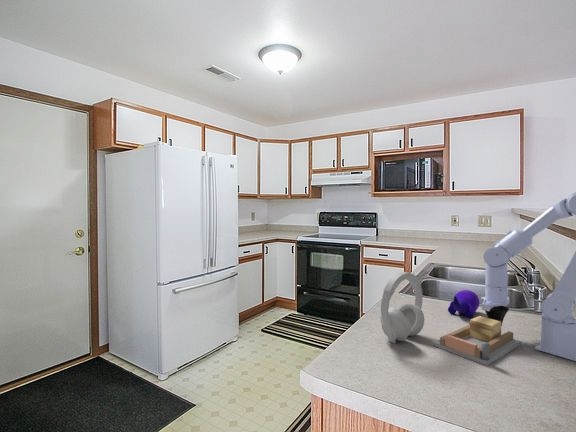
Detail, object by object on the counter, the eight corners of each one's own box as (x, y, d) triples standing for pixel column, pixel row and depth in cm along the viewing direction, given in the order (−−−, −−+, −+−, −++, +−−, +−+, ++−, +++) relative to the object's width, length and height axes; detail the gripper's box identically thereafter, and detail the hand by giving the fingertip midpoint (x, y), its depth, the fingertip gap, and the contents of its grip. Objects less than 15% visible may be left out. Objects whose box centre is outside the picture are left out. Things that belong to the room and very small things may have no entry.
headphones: (395, 351, 87) (396, 279, 87) (371, 341, 94) (372, 274, 93) (431, 334, 99) (432, 270, 98) (407, 326, 105) (408, 266, 105)
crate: (501, 338, 93) (502, 321, 93) (492, 343, 89) (492, 326, 89) (479, 331, 98) (479, 315, 98) (469, 336, 94) (469, 319, 94)
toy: (469, 325, 110) (483, 311, 120) (468, 298, 109) (482, 286, 119) (443, 318, 116) (459, 305, 126) (442, 293, 115) (458, 282, 125)
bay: (520, 344, 91) (520, 327, 91) (487, 365, 79) (487, 345, 79) (469, 329, 103) (469, 314, 102) (433, 345, 90) (433, 328, 90)
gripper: (492, 280, 105) (491, 320, 105) (471, 286, 96) (470, 330, 97) (517, 284, 99) (516, 327, 99) (496, 291, 91) (496, 338, 91)
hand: (495, 329), depth 98 cm, fingers closed
